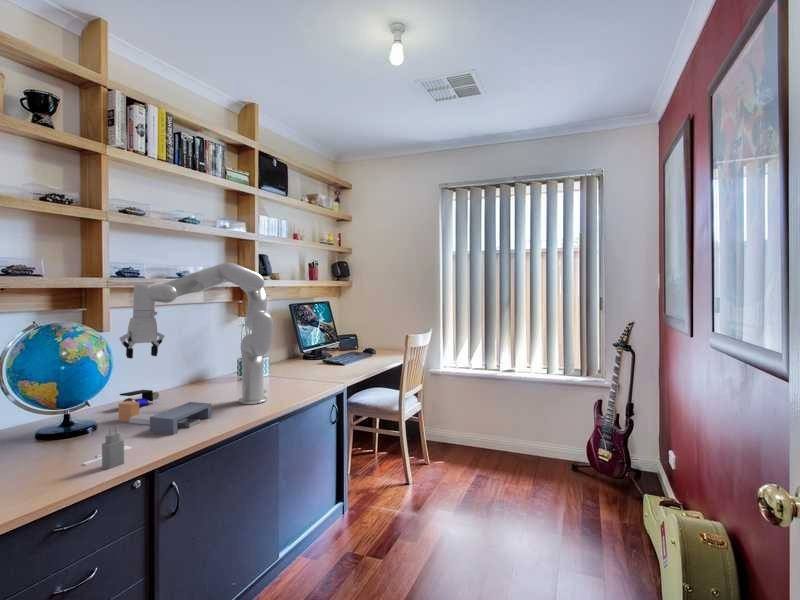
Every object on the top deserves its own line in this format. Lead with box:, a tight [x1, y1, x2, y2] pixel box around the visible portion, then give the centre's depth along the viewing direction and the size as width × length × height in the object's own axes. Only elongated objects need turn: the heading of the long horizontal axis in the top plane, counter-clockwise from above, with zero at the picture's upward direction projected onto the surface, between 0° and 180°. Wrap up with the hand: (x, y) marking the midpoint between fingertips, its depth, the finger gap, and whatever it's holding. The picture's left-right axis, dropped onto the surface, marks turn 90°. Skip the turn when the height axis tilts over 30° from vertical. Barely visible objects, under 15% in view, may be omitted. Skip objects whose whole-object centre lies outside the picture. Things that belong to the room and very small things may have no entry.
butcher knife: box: [82, 445, 133, 466], centre depth 142 cm, size 5×15×1 cm, turn 157°
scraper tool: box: [118, 401, 155, 426], centre depth 177 cm, size 6×23×7 cm, turn 78°
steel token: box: [177, 417, 201, 429], centre depth 173 cm, size 6×6×2 cm
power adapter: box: [101, 424, 125, 470], centre depth 134 cm, size 3×5×12 cm, turn 156°
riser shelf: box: [149, 401, 212, 435], centre depth 174 cm, size 22×10×6 cm, turn 168°
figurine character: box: [119, 389, 160, 407], centre depth 199 cm, size 7×8×15 cm
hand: (142, 356), depth 180 cm, fingers open, 9 cm apart
